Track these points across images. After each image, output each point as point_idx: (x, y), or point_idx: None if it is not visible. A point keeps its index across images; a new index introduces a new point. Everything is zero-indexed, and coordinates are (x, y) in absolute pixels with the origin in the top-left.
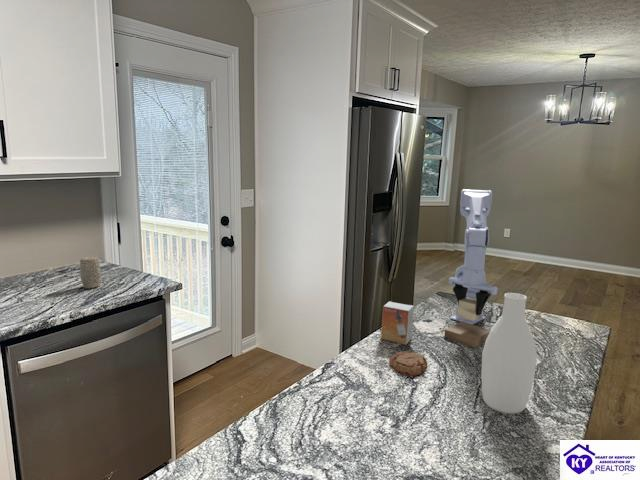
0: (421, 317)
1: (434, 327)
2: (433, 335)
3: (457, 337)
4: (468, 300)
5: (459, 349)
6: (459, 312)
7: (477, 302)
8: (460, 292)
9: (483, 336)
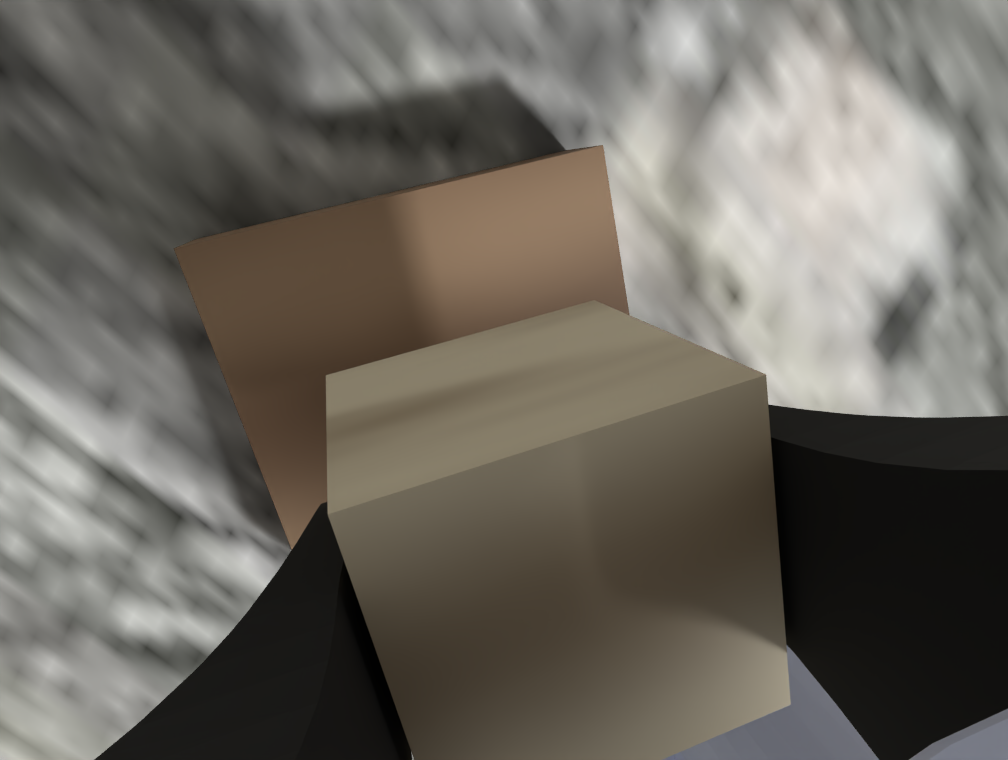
0: (972, 326)
1: (777, 259)
2: (659, 81)
3: (424, 185)
4: (638, 585)
5: (234, 24)
6: (600, 322)
7: (308, 632)
8: (959, 529)
9: (251, 437)
